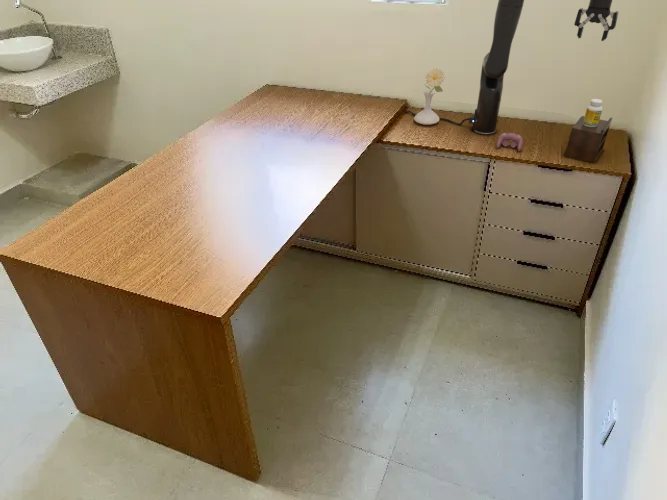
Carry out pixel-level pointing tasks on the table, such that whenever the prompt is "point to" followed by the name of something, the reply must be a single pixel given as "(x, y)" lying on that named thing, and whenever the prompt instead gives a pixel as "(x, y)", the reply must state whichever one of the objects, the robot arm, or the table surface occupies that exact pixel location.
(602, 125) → the dark wooden box
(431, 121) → the flower in vase
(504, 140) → the video game controller
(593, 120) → the supplement bottle
